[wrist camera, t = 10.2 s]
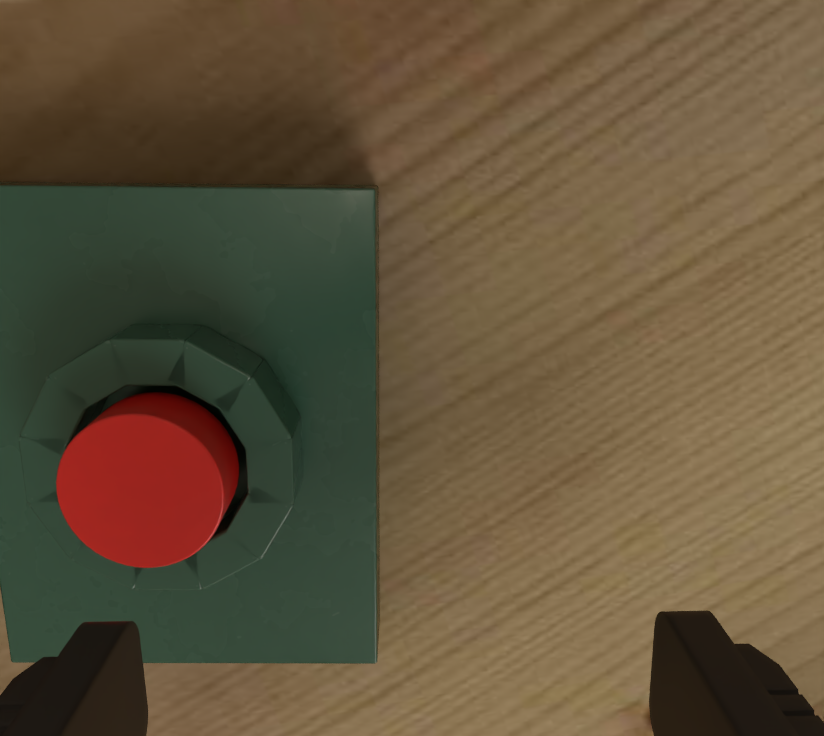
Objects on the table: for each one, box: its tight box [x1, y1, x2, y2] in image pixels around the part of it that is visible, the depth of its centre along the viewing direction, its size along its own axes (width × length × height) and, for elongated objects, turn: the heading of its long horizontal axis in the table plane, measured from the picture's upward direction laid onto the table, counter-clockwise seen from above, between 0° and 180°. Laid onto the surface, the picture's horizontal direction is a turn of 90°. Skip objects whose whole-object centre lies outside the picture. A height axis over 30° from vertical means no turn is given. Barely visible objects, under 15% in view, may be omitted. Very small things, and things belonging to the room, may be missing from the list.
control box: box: [0, 182, 380, 664], centre depth 22 cm, size 14×11×4 cm
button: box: [56, 392, 239, 568], centre depth 19 cm, size 4×4×2 cm
